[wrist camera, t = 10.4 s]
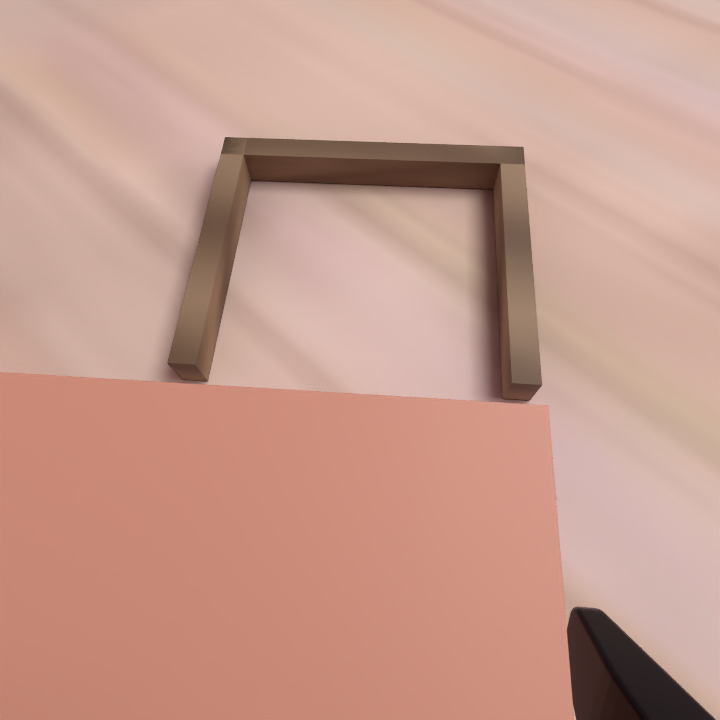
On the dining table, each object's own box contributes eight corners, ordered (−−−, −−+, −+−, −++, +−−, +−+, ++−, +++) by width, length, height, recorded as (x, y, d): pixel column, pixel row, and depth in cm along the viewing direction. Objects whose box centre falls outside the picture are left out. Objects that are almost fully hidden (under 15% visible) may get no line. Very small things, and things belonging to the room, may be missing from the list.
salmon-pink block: (419, 755, 14) (644, 1558, 2) (223, 735, 14) (-463, 1350, 3) (424, 543, 16) (548, 405, 5) (254, 530, 17) (-36, 369, 5)
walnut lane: (529, 400, 19) (541, 384, 17) (182, 379, 20) (167, 363, 18) (514, 173, 23) (523, 146, 22) (233, 163, 24) (225, 137, 23)
